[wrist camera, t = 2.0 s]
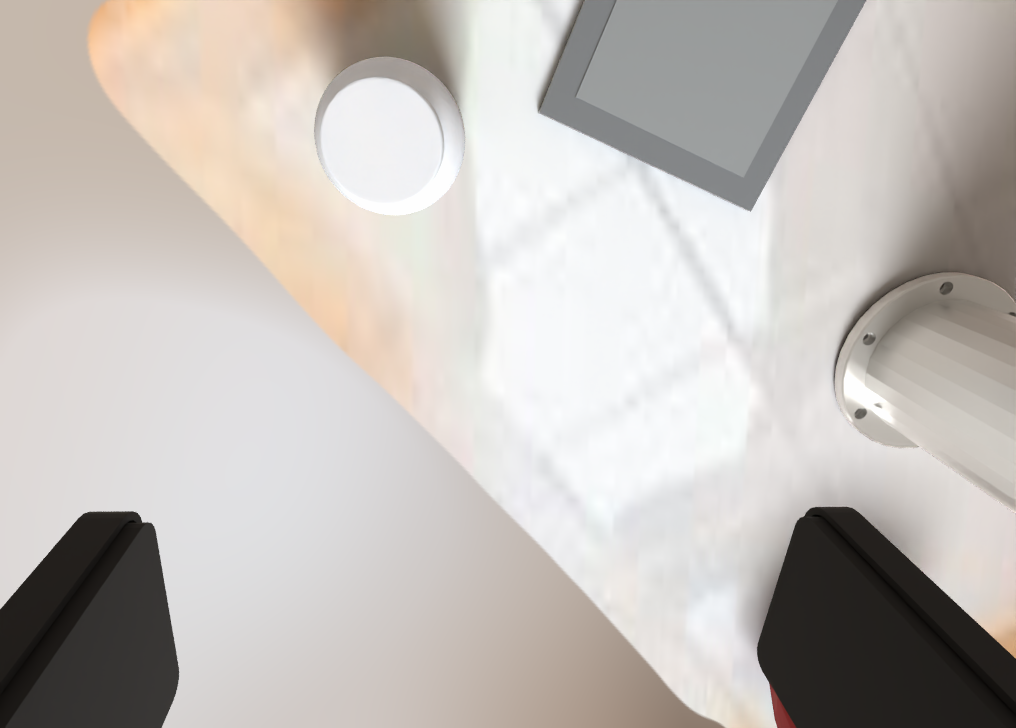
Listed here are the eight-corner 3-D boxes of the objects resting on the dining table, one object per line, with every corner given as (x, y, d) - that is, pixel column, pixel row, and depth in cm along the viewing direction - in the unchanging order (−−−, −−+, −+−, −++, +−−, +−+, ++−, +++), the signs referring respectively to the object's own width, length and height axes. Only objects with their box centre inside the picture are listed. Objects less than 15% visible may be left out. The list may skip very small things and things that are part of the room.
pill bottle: (383, 43, 32) (347, 4, 21) (485, 118, 34) (499, 117, 23) (324, 151, 34) (263, 166, 23) (423, 216, 35) (410, 259, 25)
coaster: (880, -37, 32) (889, -40, 32) (746, 210, 37) (751, 211, 36) (654, -174, 29) (659, -181, 29) (538, 112, 34) (539, 112, 33)
